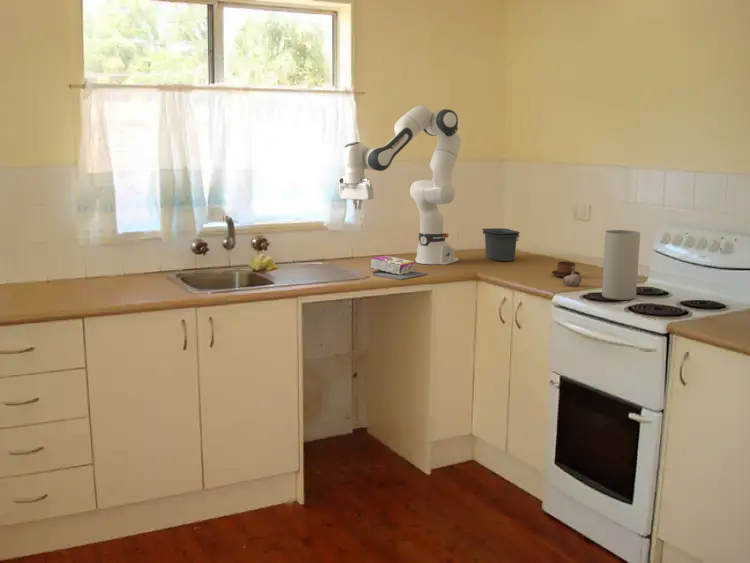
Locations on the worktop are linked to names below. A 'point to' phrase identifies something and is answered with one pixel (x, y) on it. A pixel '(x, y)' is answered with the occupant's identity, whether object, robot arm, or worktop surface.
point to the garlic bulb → (572, 279)
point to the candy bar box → (392, 265)
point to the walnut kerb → (377, 271)
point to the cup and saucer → (564, 269)
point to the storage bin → (500, 243)
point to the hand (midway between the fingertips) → (357, 209)
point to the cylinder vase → (620, 264)
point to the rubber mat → (400, 277)
